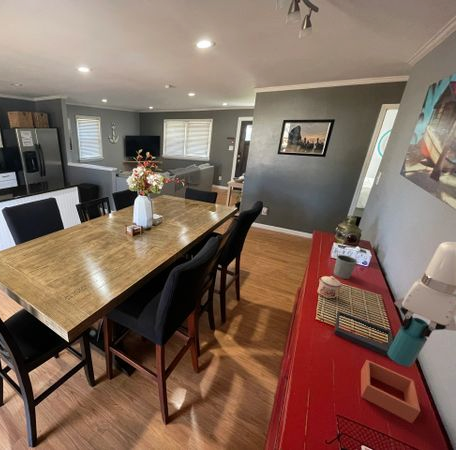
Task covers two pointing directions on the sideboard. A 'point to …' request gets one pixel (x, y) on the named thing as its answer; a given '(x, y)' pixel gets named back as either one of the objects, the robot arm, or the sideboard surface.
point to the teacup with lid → (330, 287)
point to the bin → (385, 400)
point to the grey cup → (344, 266)
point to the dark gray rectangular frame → (364, 341)
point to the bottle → (408, 343)
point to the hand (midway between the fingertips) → (414, 331)
